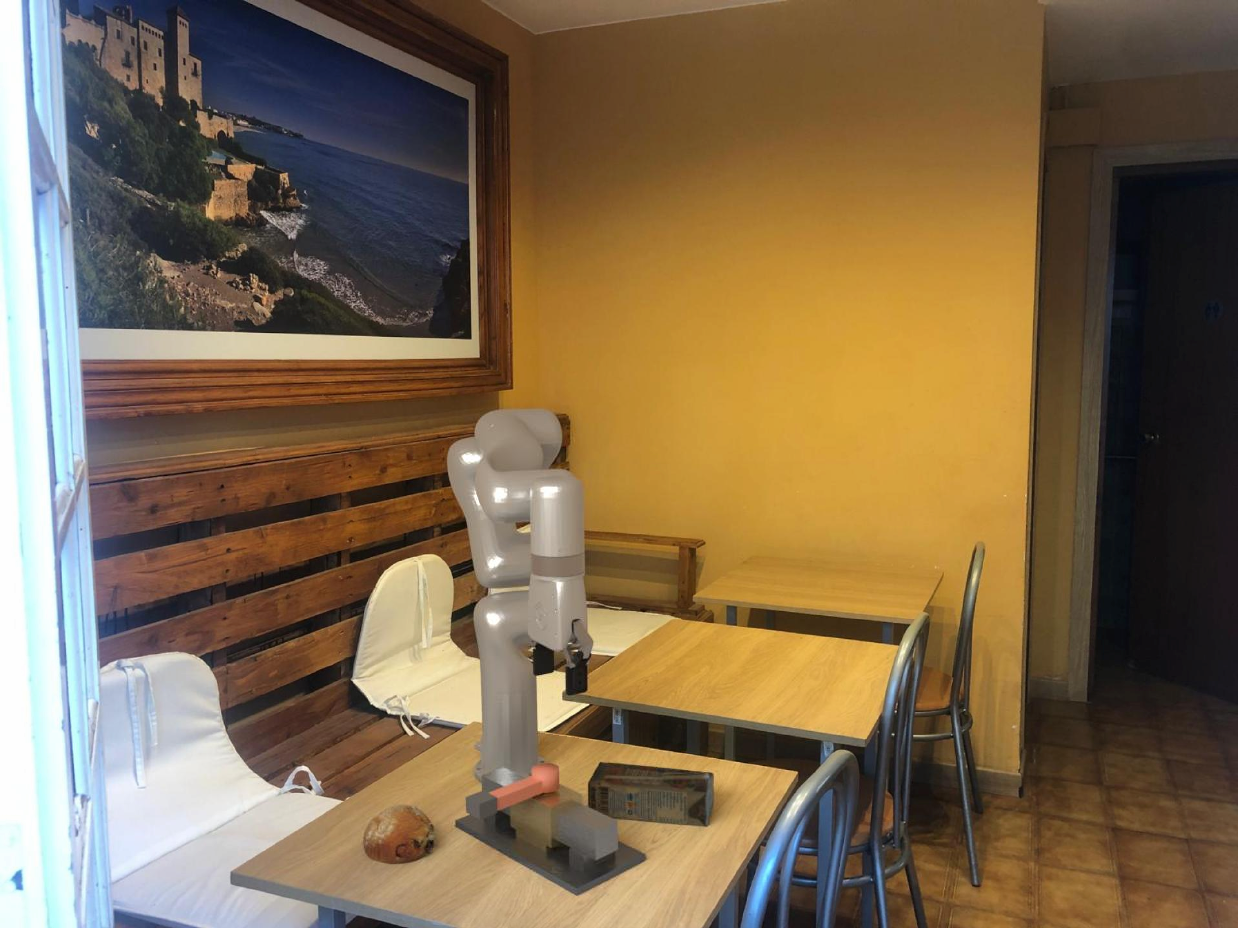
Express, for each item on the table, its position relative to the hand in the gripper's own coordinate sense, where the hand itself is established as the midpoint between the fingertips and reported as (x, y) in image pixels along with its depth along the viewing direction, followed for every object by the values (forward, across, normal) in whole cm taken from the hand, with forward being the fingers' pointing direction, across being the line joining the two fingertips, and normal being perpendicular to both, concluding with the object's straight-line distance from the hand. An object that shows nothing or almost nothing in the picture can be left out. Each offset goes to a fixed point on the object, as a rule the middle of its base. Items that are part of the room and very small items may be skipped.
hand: (559, 683), depth 140 cm
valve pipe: (+25, -4, -1) cm, 26 cm away
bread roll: (+26, -14, -19) cm, 35 cm away
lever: (+17, -3, -6) cm, 18 cm away
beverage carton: (+26, -4, +18) cm, 32 cm away
